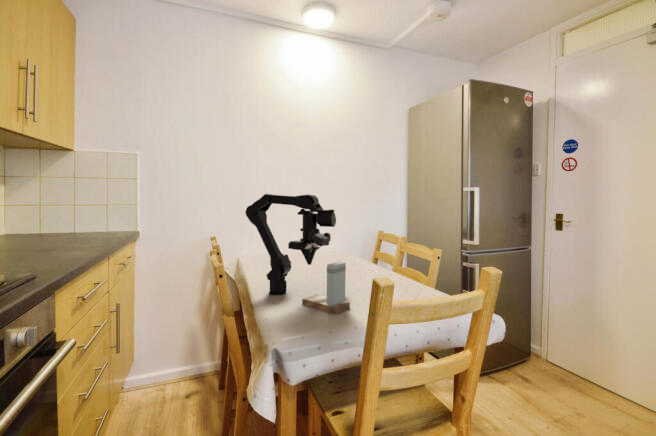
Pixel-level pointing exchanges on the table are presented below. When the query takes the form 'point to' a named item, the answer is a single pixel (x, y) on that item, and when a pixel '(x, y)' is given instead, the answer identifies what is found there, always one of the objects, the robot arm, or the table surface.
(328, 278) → the grey tall block
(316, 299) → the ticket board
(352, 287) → the table surface
